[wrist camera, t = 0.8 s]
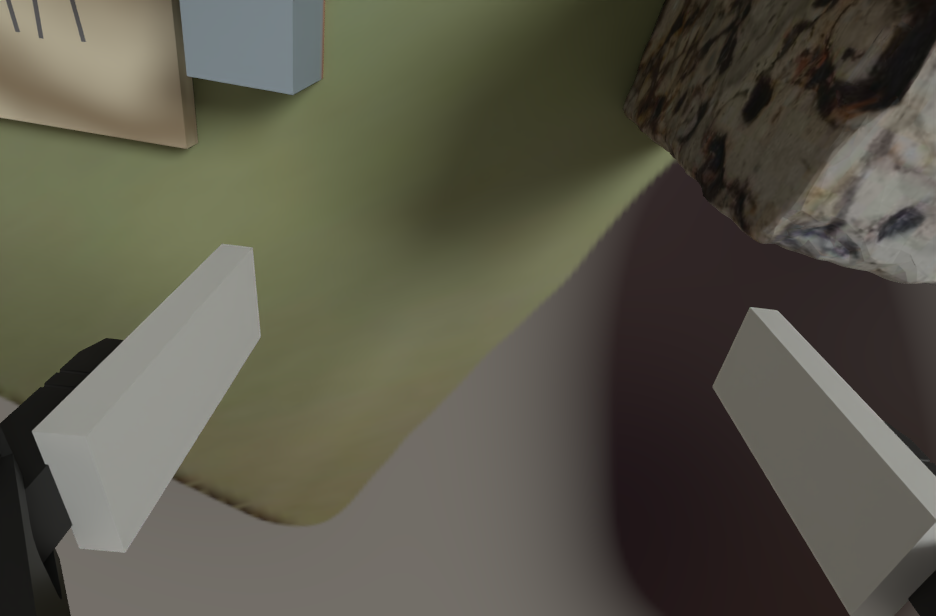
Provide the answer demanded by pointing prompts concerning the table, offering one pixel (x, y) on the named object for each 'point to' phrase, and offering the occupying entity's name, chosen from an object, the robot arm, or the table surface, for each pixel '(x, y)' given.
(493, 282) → the table surface
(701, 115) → the stone block
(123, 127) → the board
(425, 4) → the table surface
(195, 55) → the block
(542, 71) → the table surface
